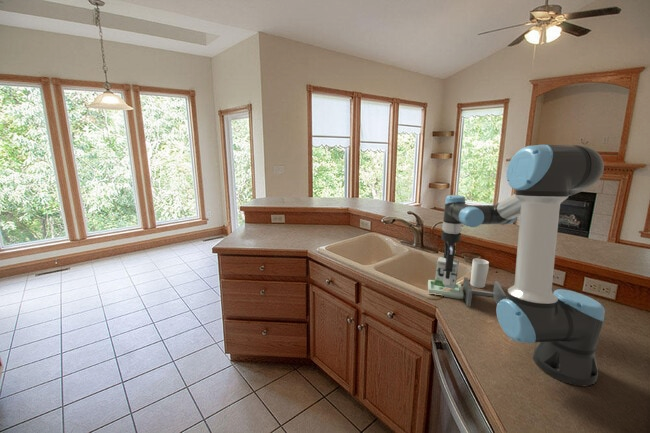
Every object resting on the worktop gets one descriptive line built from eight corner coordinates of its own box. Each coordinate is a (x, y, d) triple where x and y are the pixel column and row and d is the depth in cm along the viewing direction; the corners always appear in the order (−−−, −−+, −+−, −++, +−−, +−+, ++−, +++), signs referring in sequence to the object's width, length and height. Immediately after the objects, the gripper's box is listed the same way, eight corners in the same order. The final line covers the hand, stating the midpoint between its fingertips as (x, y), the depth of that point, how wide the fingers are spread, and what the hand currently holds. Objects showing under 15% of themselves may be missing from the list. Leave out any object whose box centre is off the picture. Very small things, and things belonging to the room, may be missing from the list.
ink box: (434, 285, 135) (436, 260, 132) (435, 281, 139) (438, 256, 136) (455, 289, 131) (458, 264, 128) (456, 285, 135) (459, 260, 133)
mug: (479, 289, 138) (482, 265, 135) (466, 283, 144) (469, 260, 141) (492, 284, 143) (496, 261, 140) (479, 279, 149) (483, 256, 146)
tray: (462, 299, 129) (463, 293, 129) (428, 294, 133) (429, 289, 132) (459, 288, 139) (460, 283, 138) (427, 284, 142) (428, 279, 142)
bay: (503, 311, 120) (506, 295, 118) (467, 306, 123) (469, 290, 122) (495, 296, 132) (497, 281, 131) (462, 291, 136) (464, 277, 134)
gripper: (464, 238, 119) (457, 292, 125) (458, 226, 137) (452, 274, 142) (444, 236, 121) (438, 289, 127) (440, 225, 139) (435, 272, 144)
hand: (445, 281), depth 135 cm, fingers closed on ink box, 6 cm apart
